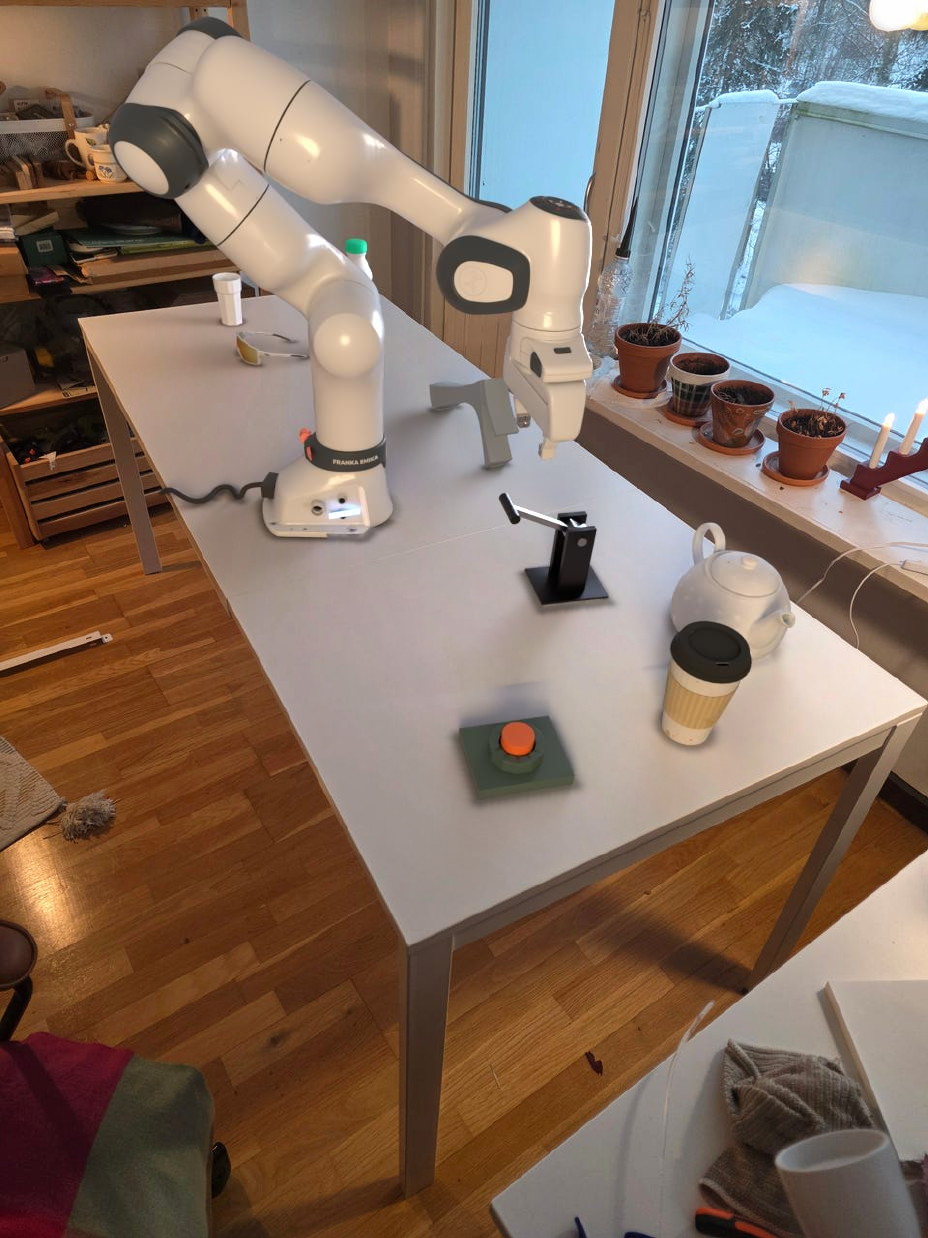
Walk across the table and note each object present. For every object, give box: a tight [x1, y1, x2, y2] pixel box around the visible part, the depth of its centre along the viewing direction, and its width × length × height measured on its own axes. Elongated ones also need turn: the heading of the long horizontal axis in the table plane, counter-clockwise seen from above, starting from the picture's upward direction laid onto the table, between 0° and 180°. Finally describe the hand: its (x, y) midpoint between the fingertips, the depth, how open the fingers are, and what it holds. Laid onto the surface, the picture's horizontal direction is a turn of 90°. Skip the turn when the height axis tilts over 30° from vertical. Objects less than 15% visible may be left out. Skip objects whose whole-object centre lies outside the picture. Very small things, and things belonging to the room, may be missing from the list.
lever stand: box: [524, 510, 610, 606], centre depth 124 cm, size 11×9×13 cm
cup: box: [211, 271, 243, 327], centre depth 200 cm, size 7×7×11 cm
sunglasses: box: [235, 329, 308, 366], centre depth 189 cm, size 14×15×5 cm
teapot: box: [669, 522, 796, 661], centre depth 119 cm, size 19×18×14 cm
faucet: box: [429, 377, 520, 468], centre depth 161 cm, size 6×17×30 cm
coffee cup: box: [661, 621, 753, 746], centre depth 102 cm, size 10×10×15 cm
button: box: [501, 722, 535, 756], centre depth 98 cm, size 4×4×2 cm
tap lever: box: [498, 492, 587, 536], centre depth 118 cm, size 14×6×2 cm, turn 104°
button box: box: [458, 715, 575, 800], centre depth 99 cm, size 12×10×4 cm
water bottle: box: [344, 238, 373, 281], centre depth 186 cm, size 7×7×25 cm
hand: (533, 441), depth 110 cm, fingers open, 8 cm apart
